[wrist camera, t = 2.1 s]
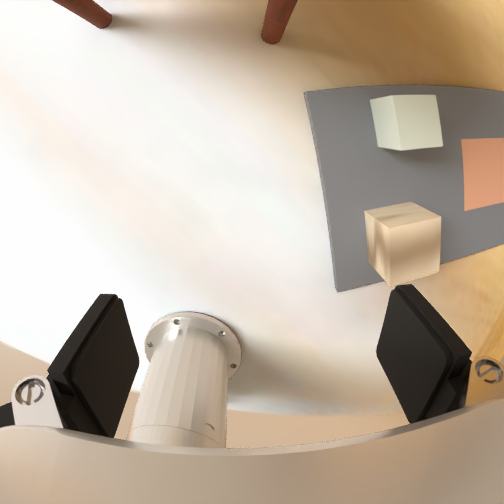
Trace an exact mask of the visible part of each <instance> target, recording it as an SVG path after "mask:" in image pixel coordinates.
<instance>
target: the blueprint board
mask: <svg viewBox="0 0 504 504" xmlns="http://www.w3.org/2000/svg"><path fill="white" fill-rule="evenodd" d="M391 95H436V100H437V106H438V112H439V118H440V125H441V133H442V141H443V146H442V147H431V148H421V149H411V150H402V151H400V150H394V149H388V148H381V147H378V144H377V138H376V131H375V125H374V120H373V114H372V109H371V104H370V100H372V99H376V98H381V97H386V96H391ZM304 97H305V101H306V105H307V110H308V115H309V119H310V124H311V129H312V134H313V139H314V144H315V149H316V155H317V160H318V166H319V171H320V177H321V183H322V189H323V196H324V202H325V209H326V216H327V223H328V230H329V238H330V246H331V254H332V262H333V272H334V281H335V289H336V291H337V292H342V291H346V290H350V289H354V288H358V287H361V286H365V285H369V284H373V283H377V282H381V281H384V279H383V278H382V277H381V276H380V274H379V273H378V272H377V271H376V270H375V269H374V268H373V267H372V265H371V264H370V263H369V262H368V250H367V236H366V224H365V213H364V211H366V210H371V209H376V208H381V207H387V206H392V205H397V204H402V203H407V202H413V203H415V204H417V205H419V206H421V207H423V208H425V209H427V210H429V211H431V212H433V213H435V214H437V215H439V216H441V248H440V264H443V263H446V262H450V261H453V260H456V259H459V258H462V257H465V256H469V255H472V254H475V253H478V252H481V251H484V250H487V249H489V248H492V247H495V246H498V245H501V244H504V92H502V91H495V90H487V89H478V88H468V87H456V86H438V85H377V86H359V87H346V88H335V89H325V90H316V91H308V92H305V93H304Z"/></svg>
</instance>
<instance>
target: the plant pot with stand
mask: <svg viewBox="0 0 504 504" xmlns="http://www.w3.org/2000/svg"><path fill="white" fill-rule="evenodd" d="M53 1H54V2H56V3H58V4H60V5H61V6H63V7H65V8H67V9H68V10H70V11H72V12H73V13H75V14H77V15H78V16H80V17H82V18H83V19H85V20H87V21H88V22H90V23H91V24H93V25H95V26H96V27H98V28H100V29H102V28H105V27H107V26H108V25H109V24H110V23H111V21H112V15H111V14H109V13H108V12H107V11H106V10H104V9H103V8H102V7H100V6H99V5H98V4H97V3H95V2H94V1H93V0H53ZM297 1H298V0H269V2H268V6H267V11H266V15H265V20H264V25H263V30H262V34H261V37H262V39H263V41H265V42H266V43H268V44H275V43H277V42H279V41H280V39H281V37H282V34H283V32H284V30H285V28H286V25H287V23H288V21H289V18H290V16H291V14H292V12H293V9H294V7H295V5H296V3H297Z"/></svg>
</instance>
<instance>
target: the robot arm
mask: <svg viewBox="0 0 504 504" xmlns="http://www.w3.org/2000/svg"><path fill="white" fill-rule="evenodd" d="M145 353H146V356H147V359H148V360H149V362H150V364H149V367H148V370H147V373H146V376H145V380H144V383H143V386H142V389H141V392H140V395H139V398H138V401H137V405H136V408H135V411H134V414H133V418H132V421H131V424H130V428H129V431H128V434H127V438H126V440H121V439H115V438H114V436H115V433H116V430H117V427H118V424H119V421H120V418H121V415H122V412H123V409H124V406H125V403H126V401H127V398H128V394H129V392H130V389H131V386H132V383H133V381H134V378H135V375H136V372H137V370H138V367H139V356H138V353H137V350H136V347H135V343H134V340H133V337H132V333H131V330H130V326H129V323H128V319H127V315H126V312H125V308H124V304H123V301H122V299H120V298H118V297H117V295H116V294H100V295H99V296H98V298H97V299H96V300H95V302H94V303H93V304H92V306H91V307H90V308H89V310H88V311H87V312H86V314H85V315H84V317H83V318H82V319H81V321H80V322H79V324H78V325H77V327H76V328H75V329H74V331H73V332H72V334H71V335H70V337H69V338H68V340H67V341H66V342H65V344H64V345H63V347H62V348H61V350H60V351H59V353H58V354H57V356H56V358H55V359H54V361H53V362H52V364H51V365H50V367H49V368H48V370H47V371H48V373H49V375H48V377H47V378H45V377H43V376H40V375H30V376H27V377H25V378H23V379H21V380H20V381H19V382H18V383H17V384H16V385H15V386H14V388H13V390H12V393H11V400H12V402H10V403H8V404H5V405H3V406H0V504H504V366H503V365H502V364H501V363H500V362H499V361H497V360H496V359H494V358H491V357H487V356H481V357H477V358H475V359H474V360H473V361H471V360H470V359H469V358H470V356H471V354H472V352H471V351H470V350H469V348H468V347H467V346H466V345H465V343H464V342H463V341H462V340H461V339H460V337H459V336H458V335H457V334H456V333H455V331H454V330H453V329H452V328H451V327H450V326H449V324H448V323H447V322H446V321H445V320H444V319H443V318H442V316H441V315H440V314H439V313H438V312H437V311H436V310H435V309H434V307H433V306H432V305H431V304H430V303H429V302H428V301H427V300H426V299H425V298H424V297H423V295H422V294H421V293H420V292H419V291H418V290H417V289H416V288H415V287H414V286H413V285H412V284H407V285H397V286H396V287H395V289H394V290H392V291H391V294H390V298H389V302H388V306H387V311H386V315H385V319H384V323H383V327H382V330H381V334H380V338H379V342H378V345H377V349H376V353H377V358H378V360H379V362H380V364H381V365H382V367H383V369H384V371H385V373H386V375H387V377H388V379H389V381H390V383H391V385H392V387H393V390H394V392H395V394H396V396H397V398H398V400H399V402H400V404H401V406H402V408H403V410H404V412H405V415H406V417H407V419H408V421H409V423H410V424H408V425H405V426H401V427H397V428H393V429H389V430H385V431H381V432H376V433H372V434H367V435H362V436H357V437H352V438H346V439H339V440H333V441H327V442H319V443H311V444H302V445H292V446H279V447H263V448H226V425H227V424H226V423H227V396H228V380H229V379H230V378H231V377H232V376H233V375H234V374H235V373H236V372H237V370H238V368H239V366H240V363H241V347H240V344H239V341H238V339H237V337H236V336H235V334H234V333H233V332H232V331H231V330H230V329H229V327H227V326H226V325H225V324H223V323H222V322H220V321H218V320H217V319H215V318H213V317H210V316H207V315H204V314H200V313H195V312H179V313H173V314H170V315H166V316H164V317H162V318H161V319H159V320H158V321H156V322H155V323H154V324H153V325H152V327H151V328H150V330H149V331H148V334H147V336H146V339H145Z"/></svg>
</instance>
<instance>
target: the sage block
mask: <svg viewBox="0 0 504 504" xmlns="http://www.w3.org/2000/svg"><path fill="white" fill-rule="evenodd" d="M370 104H371V109H372V114H373V120H374V125H375V131H376V138H377V144H378V147H381V148H388V149H394V150H400V151H402V150H411V149H421V148H431V147H442V146H443V141H442V133H441V125H440V118H439V112H438V106H437V100H436V95H391V96H386V97H381V98H376V99H372V100H370Z"/></svg>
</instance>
